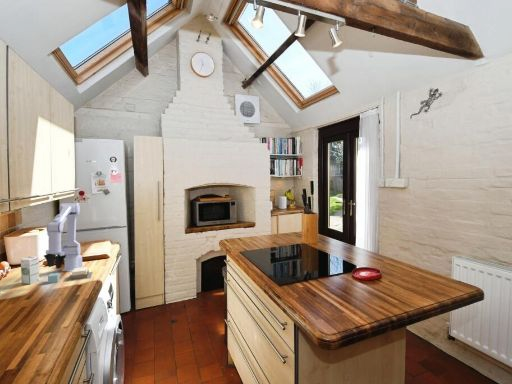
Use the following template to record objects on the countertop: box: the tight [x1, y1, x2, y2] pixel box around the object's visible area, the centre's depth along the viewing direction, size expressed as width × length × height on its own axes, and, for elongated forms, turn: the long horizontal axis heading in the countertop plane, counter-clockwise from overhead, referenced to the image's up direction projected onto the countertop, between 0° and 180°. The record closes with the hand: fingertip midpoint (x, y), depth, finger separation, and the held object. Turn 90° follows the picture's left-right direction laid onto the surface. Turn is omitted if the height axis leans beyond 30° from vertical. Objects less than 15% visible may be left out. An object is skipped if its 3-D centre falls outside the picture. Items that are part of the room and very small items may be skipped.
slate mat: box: [66, 271, 94, 283], centre depth 159 cm, size 12×12×1 cm
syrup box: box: [20, 256, 40, 285], centre depth 149 cm, size 6×6×14 cm
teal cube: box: [47, 272, 60, 284], centre depth 151 cm, size 4×4×4 cm
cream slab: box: [71, 266, 89, 276], centre depth 158 cm, size 7×7×2 cm
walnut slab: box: [70, 269, 90, 280], centre depth 158 cm, size 8×8×2 cm
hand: (54, 267), depth 146 cm, fingers open, 7 cm apart
